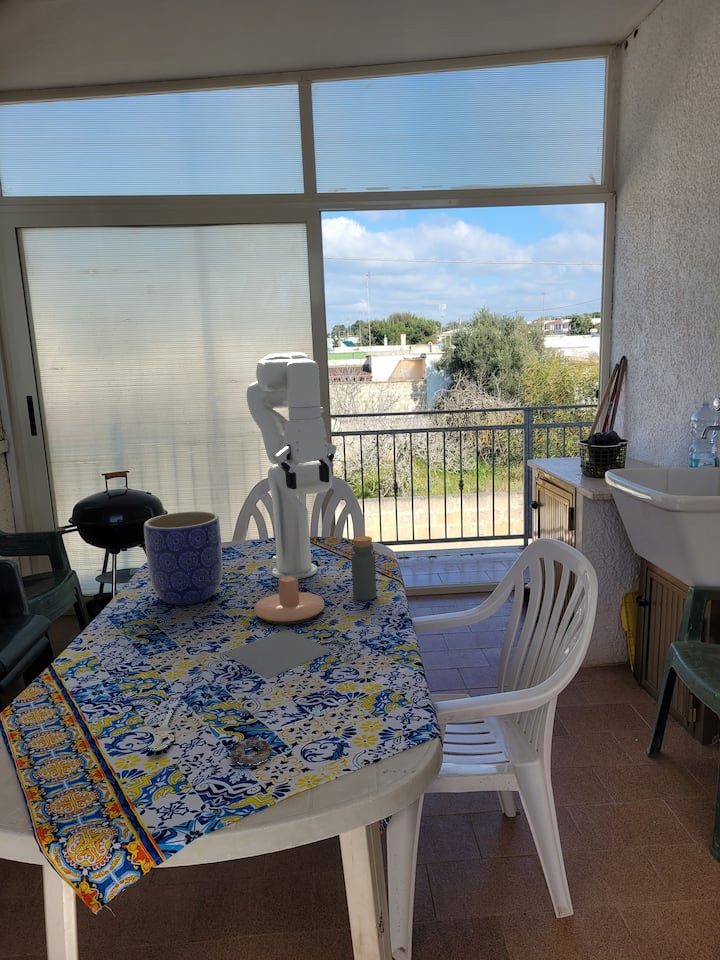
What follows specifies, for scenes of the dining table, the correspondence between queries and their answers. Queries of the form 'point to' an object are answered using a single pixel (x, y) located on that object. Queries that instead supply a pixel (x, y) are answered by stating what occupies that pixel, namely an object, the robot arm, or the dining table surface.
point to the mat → (277, 653)
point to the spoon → (164, 728)
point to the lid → (289, 603)
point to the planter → (184, 556)
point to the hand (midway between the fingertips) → (308, 485)
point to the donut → (241, 757)
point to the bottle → (363, 569)
